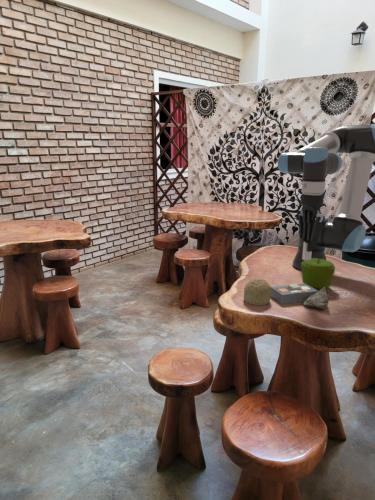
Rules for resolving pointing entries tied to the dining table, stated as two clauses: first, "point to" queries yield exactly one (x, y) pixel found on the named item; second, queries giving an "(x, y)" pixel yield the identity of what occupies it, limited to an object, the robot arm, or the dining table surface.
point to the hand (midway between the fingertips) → (306, 259)
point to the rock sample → (317, 300)
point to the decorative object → (257, 292)
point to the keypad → (291, 294)
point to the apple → (317, 272)
